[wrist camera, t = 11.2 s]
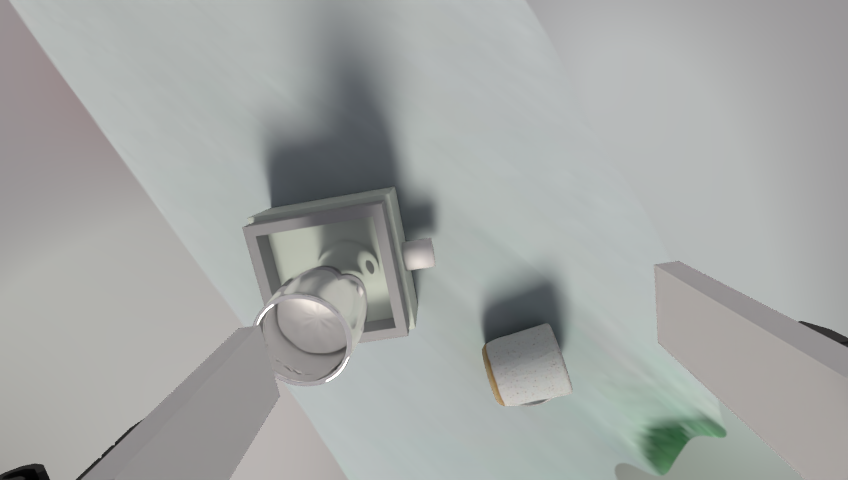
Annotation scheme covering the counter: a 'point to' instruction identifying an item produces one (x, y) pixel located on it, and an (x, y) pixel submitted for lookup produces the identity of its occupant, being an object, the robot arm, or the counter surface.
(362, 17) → the counter surface
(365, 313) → the beer glass
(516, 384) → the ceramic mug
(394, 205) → the grey box with knob
